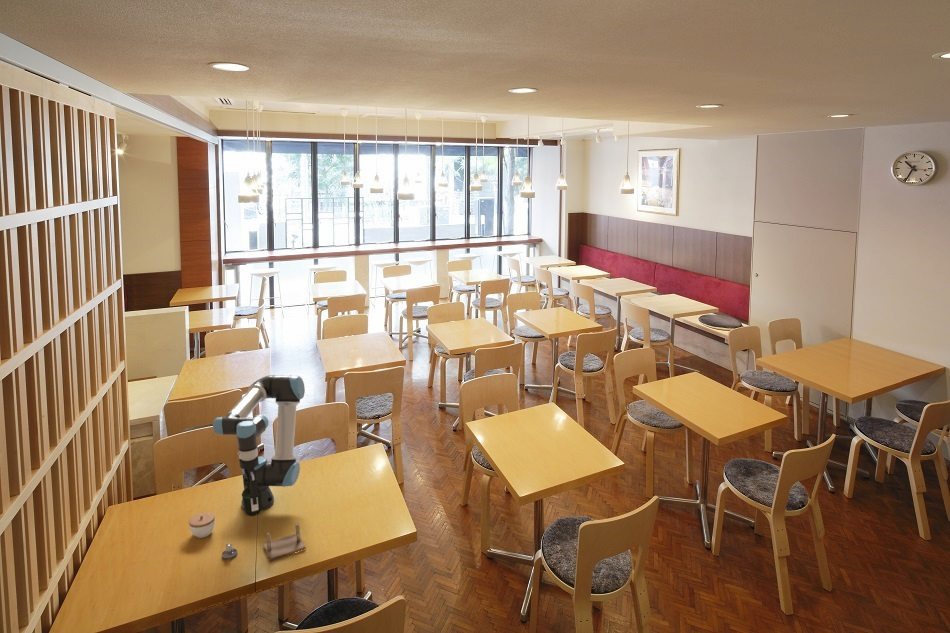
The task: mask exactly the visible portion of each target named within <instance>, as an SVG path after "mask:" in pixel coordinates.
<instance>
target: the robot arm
mask: <svg viewBox="0 0 950 633" xmlns="http://www.w3.org/2000/svg"><path fill="white" fill-rule="evenodd" d="M305 387H306V386H305V382H304V379H303V378H302V377H301V376H299V375H294V374H293V375H292V374H289V375H288V374H287V375H286V374H285V375H284V374H280V375H279V374H277V375H276V374H270V375H266V376H263V377H261V378H259V379H257V380H256V381H254V382H253V383H251V385H249V387H248V388H247V390H246V393H245V394H244V395H243V396H242V398H241V399H239V401H238V402H237V403H236V404H235V405H234V406H233V407H232V408H231V409H230V410H229V412H227V413H226V414H225V416H218V417H216V418H214V420H213V423H212V429H213V433H214V434H216V435H222V436H224V435H227V436H233V435H234V436H236V439H237V448H238V449H237V450H238V452H237V455H238V458H239V467H240V469H241V474H242V482H243V490H244V489H246V488H248V487H247V485H245V484H244V480H245V479H246V476H247V481H248V482H249V487H250V493H251V497H249V498H251V509H252V511H256V510H259V508H258V490H257V487H259V488H260V489H261V490H262V510H261V511H263V510H266V509H268V508H270V507H271V506H272V505H273V504H274V502H275V497H274V494H273V492H272V490H271V488H270V487H283V488H286V487H292V486H294V485H295V484H296V483H297V480H298V478H299V476H300V470H301V466H300V463H299V462H298V461H297V457H296V456H295V455H294V451H295V450H294V447H295V432H296V415H297V406H298V405H299V404H300V402H301V400H302V399H303V398H305V393H306V392H305V391H306V390H305ZM266 399H275V403H276V404H277V424H276V434H275V436H276V437H275V449H274V450H275V452H274V455H273V456H272V457H271V461H268V459H267V457H265V456H258V455H259V451H258V442H257V441H258V438H259V437H260V436H261V435H262V434H263V433H264V432H265V431H266V429H267V428H268V427H269V418H267V416H265V415H263V414H256V415H255V416H253V417H248V416H249V415H250V414H251V413H252V412H253V411H254V410H255V408H256V407H257V406H258V404H260V403H262V402H264V401H265V400H266ZM245 475H246V476H245ZM256 477H257V479H258V482H257V481H256ZM249 479H250V480H249ZM241 498H242V497H241ZM241 508H242V509H243V510H244V511H245V508H244V503H243V498H242V499H241Z"/></svg>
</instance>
